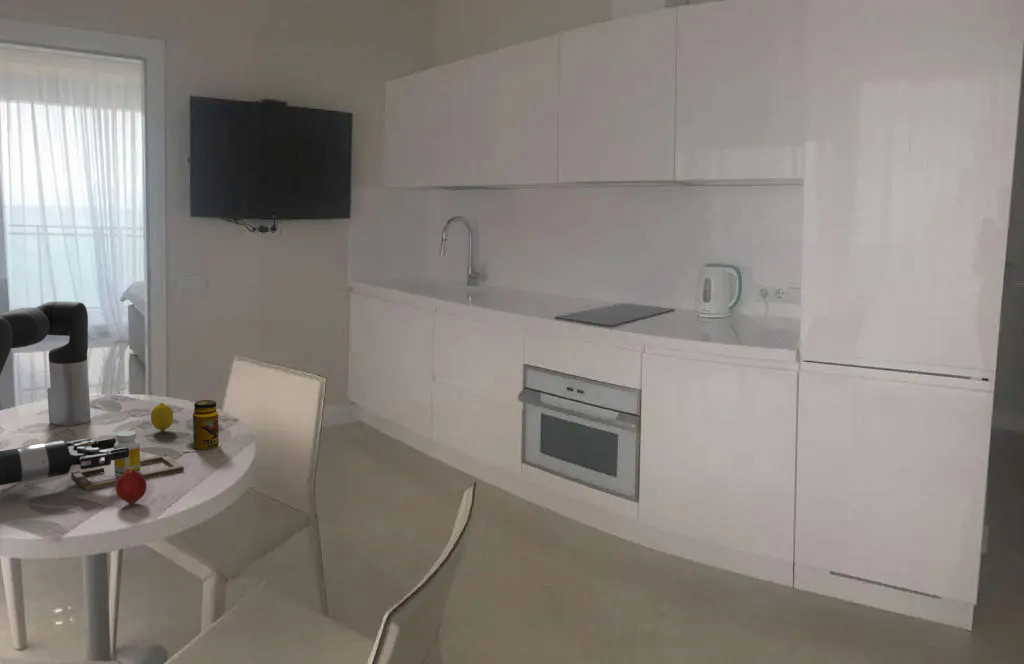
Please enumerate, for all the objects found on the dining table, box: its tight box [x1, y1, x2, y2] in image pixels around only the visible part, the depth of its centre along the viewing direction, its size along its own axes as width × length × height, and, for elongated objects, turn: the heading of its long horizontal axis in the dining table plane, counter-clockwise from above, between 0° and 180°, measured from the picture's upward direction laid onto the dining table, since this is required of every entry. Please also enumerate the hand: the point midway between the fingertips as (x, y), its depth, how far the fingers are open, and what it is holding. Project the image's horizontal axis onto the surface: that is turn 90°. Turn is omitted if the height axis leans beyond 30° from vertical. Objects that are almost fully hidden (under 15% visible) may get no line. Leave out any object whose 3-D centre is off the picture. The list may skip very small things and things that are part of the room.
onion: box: [115, 468, 147, 505], centre depth 169 cm, size 6×6×8 cm
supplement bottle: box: [113, 430, 141, 478], centre depth 186 cm, size 5×5×10 cm
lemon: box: [150, 402, 174, 433], centre depth 217 cm, size 6×6×8 cm
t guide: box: [70, 454, 185, 492], centre depth 191 cm, size 24×21×1 cm
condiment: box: [182, 399, 223, 453], centre depth 206 cm, size 7×8×12 cm
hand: (121, 447), depth 184 cm, fingers open, 8 cm apart
